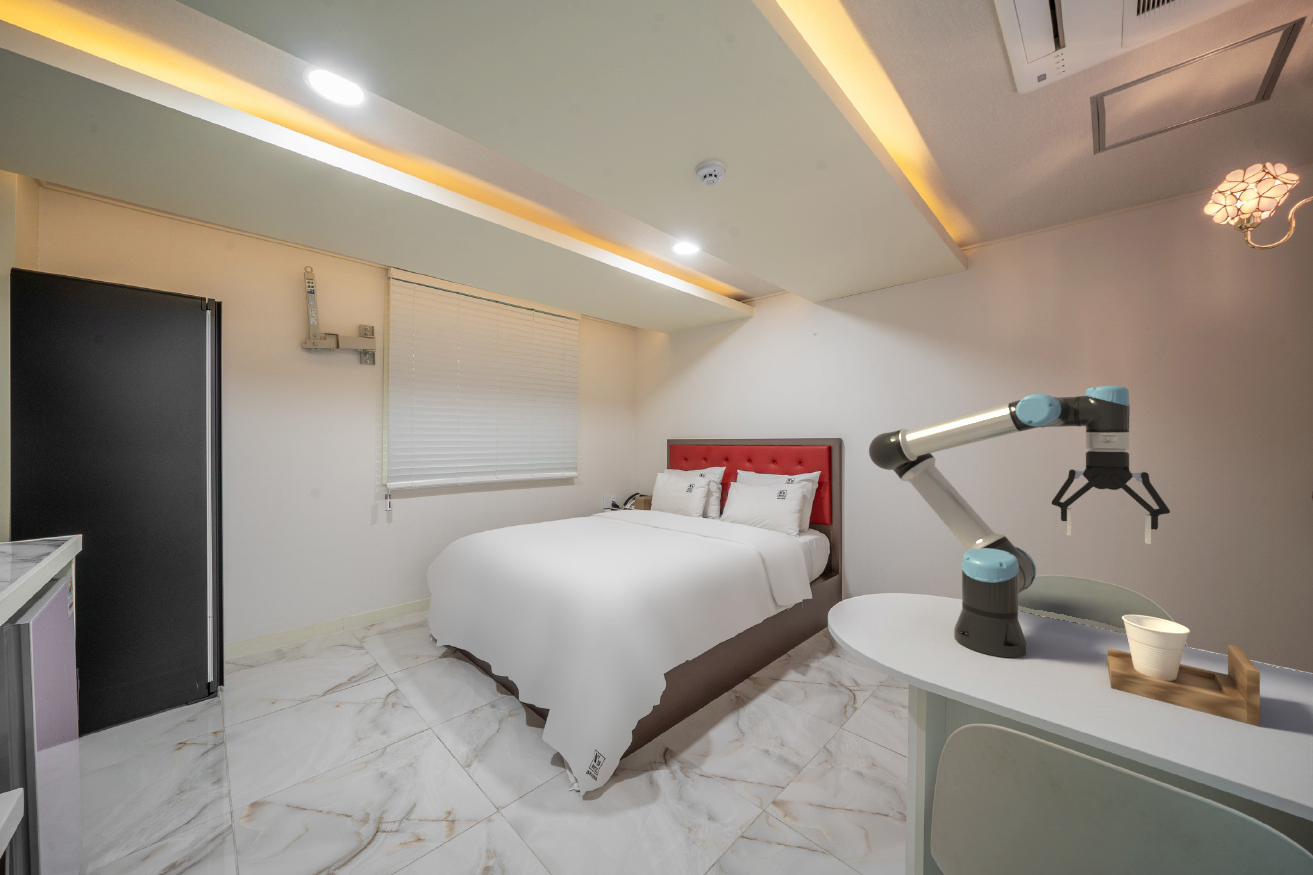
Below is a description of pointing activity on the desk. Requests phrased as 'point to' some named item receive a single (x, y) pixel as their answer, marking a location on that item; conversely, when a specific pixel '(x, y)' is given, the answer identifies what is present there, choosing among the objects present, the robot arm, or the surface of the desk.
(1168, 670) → the cup
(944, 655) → the desk surface
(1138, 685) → the bracket shelf
